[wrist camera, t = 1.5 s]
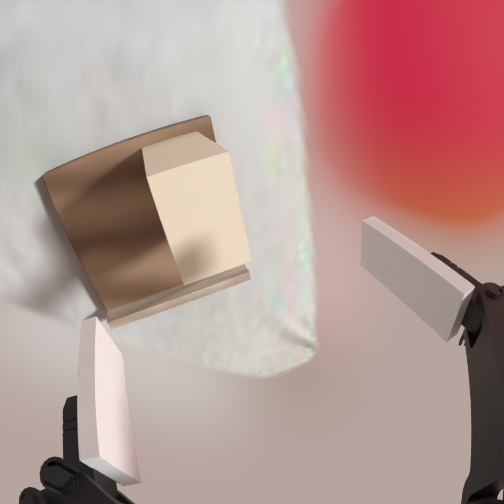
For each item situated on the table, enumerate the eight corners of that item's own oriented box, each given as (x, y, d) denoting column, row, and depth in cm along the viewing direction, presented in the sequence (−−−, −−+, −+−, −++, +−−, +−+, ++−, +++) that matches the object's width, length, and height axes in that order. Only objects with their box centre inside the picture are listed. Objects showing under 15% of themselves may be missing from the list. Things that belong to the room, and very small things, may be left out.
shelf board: (46, 171, 23) (36, 182, 20) (206, 115, 27) (215, 118, 24) (111, 310, 33) (112, 330, 30) (240, 263, 36) (250, 280, 33)
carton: (141, 147, 25) (146, 177, 17) (197, 130, 26) (230, 151, 18) (166, 226, 29) (184, 285, 21) (216, 209, 30) (252, 260, 22)
